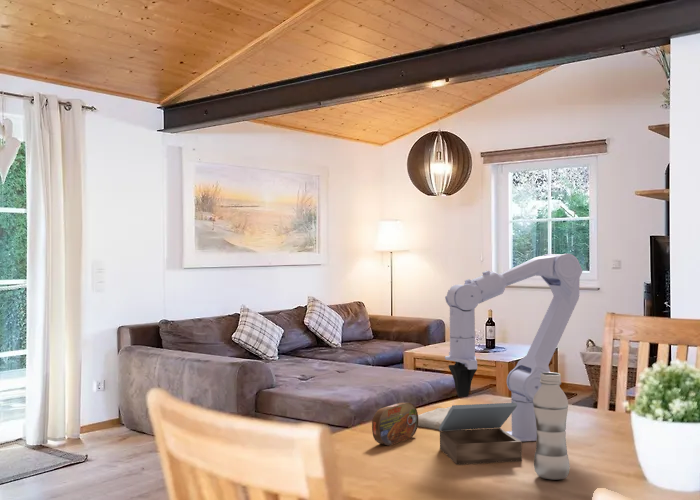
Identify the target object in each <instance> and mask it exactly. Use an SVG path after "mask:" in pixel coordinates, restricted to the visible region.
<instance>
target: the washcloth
mask: <svg viewBox="0 0 700 500" xmlns="http://www.w3.org/2000/svg"><path fill="white" fill-rule="evenodd" d="M451 407H452V406H448V407H446V408H445V407H441V408H440V407H437V408H435V409H434V410H433V409H432V410H430V411H429V410H428V411H426V412H423V413H421V414H418V427H420V428H428V429H434V430H437V431H440V429H439V427H440V425H441V423H442V422H443V420H444V419H445V417H446V415H447V414H448V411H449V409H450V408H451ZM447 431H451V430H447Z"/></svg>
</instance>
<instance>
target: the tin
mask: <svg viewBox="0 0 700 500" xmlns="http://www.w3.org/2000/svg"><path fill="white" fill-rule="evenodd" d="M418 412H419V411H418V409H417V407H416V406H415V405H414V404H413V403H411V402H398V403H394V404H391V405H388V406H385V407H381V408H378V409H377V410H376V411H375V413H374V415H373V416H372V421H371V433H372V436H373V439H374V441H375V442H376V443H378V444H380V445H385V446H393V445H396V444H398V443H401V442H404V441H407V440H410V439H412V438H413V437H414V436H415V434H416V433H417V430H418V427H419V426H418V415H419V413H418Z"/></svg>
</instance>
